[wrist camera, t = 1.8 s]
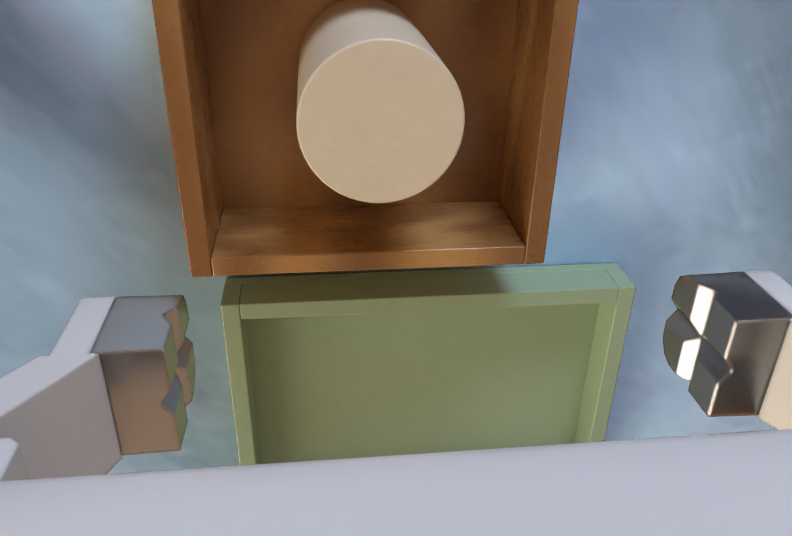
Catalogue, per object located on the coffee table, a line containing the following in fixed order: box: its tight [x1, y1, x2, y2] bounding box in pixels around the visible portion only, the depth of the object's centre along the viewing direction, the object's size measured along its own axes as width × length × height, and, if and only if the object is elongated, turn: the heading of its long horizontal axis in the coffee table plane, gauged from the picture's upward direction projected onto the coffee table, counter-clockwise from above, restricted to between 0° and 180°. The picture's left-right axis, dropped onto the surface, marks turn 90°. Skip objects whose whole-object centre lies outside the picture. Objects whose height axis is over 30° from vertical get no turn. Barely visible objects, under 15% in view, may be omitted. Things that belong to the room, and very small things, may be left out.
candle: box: [296, 0, 465, 203], centre depth 24 cm, size 5×5×8 cm
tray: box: [220, 263, 636, 465], centre depth 35 cm, size 19×14×2 cm
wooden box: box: [152, 0, 579, 277], centre depth 26 cm, size 14×14×5 cm
